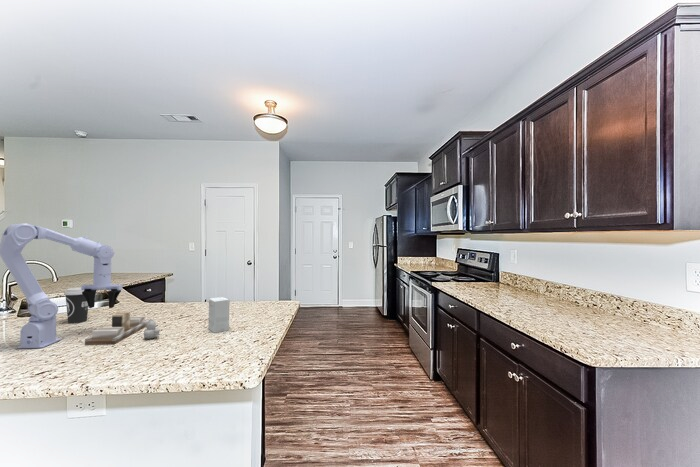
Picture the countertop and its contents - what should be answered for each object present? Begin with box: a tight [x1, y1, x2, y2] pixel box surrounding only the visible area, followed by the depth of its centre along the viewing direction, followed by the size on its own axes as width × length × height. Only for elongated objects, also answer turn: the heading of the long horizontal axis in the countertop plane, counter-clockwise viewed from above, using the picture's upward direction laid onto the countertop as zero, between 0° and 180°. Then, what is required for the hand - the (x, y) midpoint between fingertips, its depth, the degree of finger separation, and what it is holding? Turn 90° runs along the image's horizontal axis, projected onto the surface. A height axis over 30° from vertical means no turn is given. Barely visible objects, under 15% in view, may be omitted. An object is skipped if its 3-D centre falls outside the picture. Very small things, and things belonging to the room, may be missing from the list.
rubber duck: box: [143, 317, 161, 340], centre depth 124 cm, size 5×7×8 cm
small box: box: [207, 296, 230, 333], centre depth 137 cm, size 8×6×13 cm
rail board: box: [84, 315, 150, 346], centre depth 129 cm, size 26×10×4 cm, turn 7°
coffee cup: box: [63, 286, 89, 324], centre depth 146 cm, size 10×10×15 cm
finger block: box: [111, 311, 131, 331], centre depth 129 cm, size 6×4×7 cm
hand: (101, 307), depth 132 cm, fingers open, 7 cm apart
